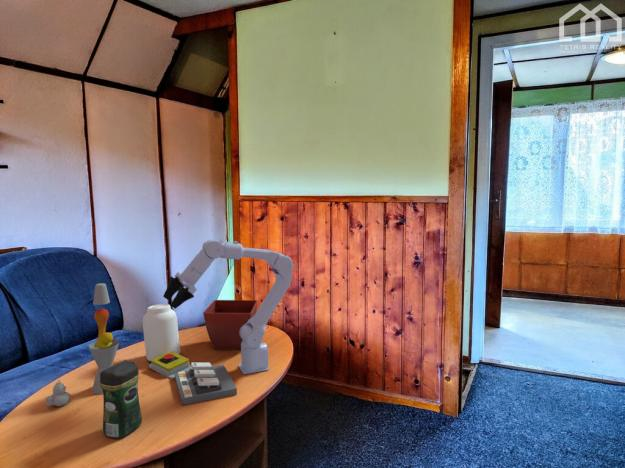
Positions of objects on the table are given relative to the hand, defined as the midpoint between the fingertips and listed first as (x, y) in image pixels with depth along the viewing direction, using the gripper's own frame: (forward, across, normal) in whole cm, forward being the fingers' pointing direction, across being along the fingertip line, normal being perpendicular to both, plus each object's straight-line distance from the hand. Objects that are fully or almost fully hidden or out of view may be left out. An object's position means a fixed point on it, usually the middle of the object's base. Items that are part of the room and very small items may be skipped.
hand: (169, 302), depth 142 cm
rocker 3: (+12, +19, +19) cm, 29 cm away
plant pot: (+4, -15, +44) cm, 47 cm away
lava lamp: (+34, -4, +4) cm, 35 cm away
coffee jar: (+31, +25, 0) cm, 40 cm away
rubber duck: (+43, 0, -7) cm, 44 cm away
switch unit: (+15, +14, +23) cm, 30 cm away
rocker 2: (+12, +13, +20) cm, 27 cm away
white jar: (+21, -18, +23) cm, 36 cm away
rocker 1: (+12, +6, +22) cm, 26 cm away
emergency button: (+20, -6, +21) cm, 30 cm away
